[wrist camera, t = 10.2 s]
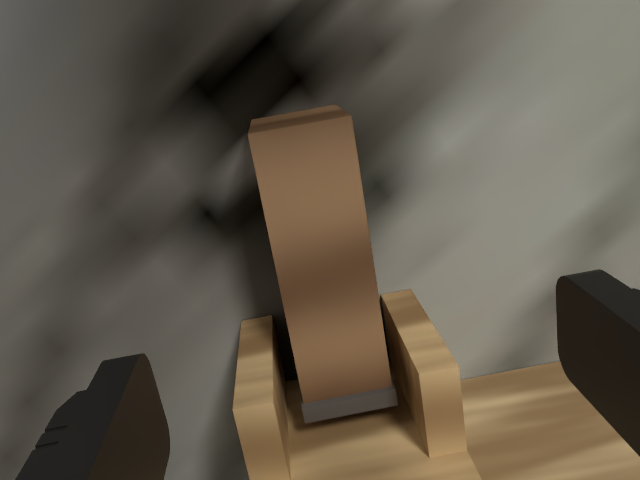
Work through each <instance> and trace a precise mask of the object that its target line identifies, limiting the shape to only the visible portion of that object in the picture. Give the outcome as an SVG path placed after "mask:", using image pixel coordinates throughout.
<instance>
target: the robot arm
mask: <svg viewBox="0 0 640 480" xmlns="http://www.w3.org/2000/svg"><path fill="white" fill-rule="evenodd" d="M556 310H557V339H558V354H559V358H560V362H561V365H562V368H563V370H564V372H565V374H566V376H567V378H568V379H569V380H570V382H571V383H572V384H573V385H574V386H575V387H576V388H577V389H578V390H579V391H580V393H581V394H582V395H583V396H584V397H585V398H586V399H587V400H588V401H589V402H590V403H591V404H592V406H593V407H594V408H595V409H596V410H597V411H598V412H599V413H600V414H601V415H602V416H603V417H604V419H605V420H606V421H607V422H608V423H609V424H610V425H611V426H612V427H613V428H614V429H615V431H616V432H617V433H618V434H619V435H620V436H621V437H622V438H623V439H624V440H625V441H626V442H627V444H628V445H629V446H630V447H631V448H632V449H633V450H634V451H635V452H636V453H637V454H638V455H639V457H640V290H638V289H634V288H633V289H631V288H629V287H628V286H626V285H625V284H623V283H622V282H620V281H619V280H617V279H616V278H614V277H612V276H611V275H609V274H608V273H606V272H605V271H603V270H600V269H599V270H593V271H588V272H582V273H577V274H571V275H566V276H561V277H560V278H559V279H558V281H557V284H556ZM35 447H36V449H35V450H33V451H32V452H31V454H30V456H29V457H28V459H27V461H26V463H25V464H24V466H23V468H22V469H21V471H20V473H19V474H18V476H17V478H16V479H15V480H163V479H164V475H165V471H166V467H167V463H168V459H169V453H170V436H169V429H168V424H167V420H166V416H165V413H164V410H163V406H162V403H161V399H160V396H159V392H158V389H157V386H156V382H155V379H154V375H153V372H152V368H151V365H150V362H149V360H148V358H147V356H146V355H145V354H143V353H142V354H137V355H131V356H126V357H121V358H115V359H110V360H105V361H103V362H102V363H101V364H100V366H99V368H98V370H97V372H96V374H95V375H94V377H93V379H92V381H91V383H90V385H89V387H88V388H87V390H84V391H79V392H76V393H75V394H74V395H73V396H72V397H71V398H70V399H69V400H67V401H66V402H65V403H64V404H63V405H62V406H61V407H60V408H58V409H57V410H56V412H55V413H54V415H53V417H52V419H51V420H50V422H49V424H48V425H47V427H46V429H45V433H43V434H42V435H41V437H40V439H39V441H38V442H37V444H36V446H35Z"/></svg>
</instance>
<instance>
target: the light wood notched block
mask: <svg viewBox="0 0 640 480" xmlns="http://www.w3.org/2000/svg"><path fill="white" fill-rule="evenodd" d="M381 298H382V305H383V312H384V319H385V326H386V333H387V340H388V347H389V354H390V362H389V369H390V375H391V379H392V381H393V384H394V386H395V389H396V394H397V401H398V405H397V406H391V407H386V408H381V409H376V410H371V411H366V412H361V413H356V414H351V415H346V416H341V417H336V418H331V419H326V420H321V421H316V422H311V423H306V424H305V421H304V417H303V412H302V405H301V395H300V385H299V379H296V380H290V381H285V376H284V371H283V367H282V362H281V357H280V352H279V347H278V343H277V338H276V333H275V328H274V323H273V319H272V315H270V316H265V317H259V318H254V319H248V320H243V321H241V330H240V340H239V350H238V360H237V370H236V380H235V389H234V399H233V409H232V410H233V414H234V418H235V422H236V426H237V430H238V434H239V439H240V443H241V447H242V451H243V455H244V459H245V463H246V467H247V471H248V475H249V479H250V480H640V457H639V455H638V454H637V453H636V452H635V451H634V450H633V449H632V448H631V447H630V446H629V445H628V444H627V442H626V441H625V440H624V439H623V438H622V437H621V436H620V435H619V434H618V433H617V432H616V431H615V429H614V428H613V427H612V426H611V425H610V424H609V423H608V422H607V421H606V420H605V419H604V417H603V416H602V415H601V414H600V413H599V412H598V411H597V410H596V409H595V408H594V407H593V406H592V404H591V403H590V402H589V401H588V400H587V399H586V398H585V397H584V396H583V395H582V394H581V393H580V391H579V390H578V389H577V388H576V387H575V386H574V385H573V384H572V383H571V382H570V380H569V379H568V378H567V376H566V374H565V372H564V370H563V368H562V365H561V362H560V361H558V362H553V363H547V364H542V365H537V366H532V367H527V368H521V369H516V370H511V371H506V372H501V373H495V374H490V375H485V376H480V377H475V378H469V379H464V380H460V374H459V366H458V364H457V363H456V361H455V360H454V358H453V356H452V355H451V353H450V352H449V350H448V348H447V347H446V345H445V343H444V342H443V340H442V339H441V337H440V335H439V334H438V332H437V330H436V329H435V327H434V326H433V324H432V322H431V321H430V319H429V318H428V316H427V314H426V313H425V311H424V309H423V308H422V306H421V305H420V303H419V301H418V300H417V298H416V297H415V295H414V293H413V292H412V290H411V289H409V290H404V291H398V292H393V293H388V294H382V295H381Z"/></svg>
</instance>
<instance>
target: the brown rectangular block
mask: <svg viewBox="0 0 640 480" xmlns="http://www.w3.org/2000/svg"><path fill="white" fill-rule="evenodd" d="M248 139H249V143H250V148H251V153H252V158H253V163H254V168H255V172H256V177H257V182H258V187H259V192H260V196H261V201H262V206H263V211H264V216H265V220H266V225H267V230H268V235H269V240H270V245H271V249H272V254H273V259H274V264H275V269H276V273H277V278H278V283H279V288H280V293H281V297H282V302H283V307H284V312H285V317H286V322H287V326H288V331H289V336H290V341H291V346H292V350H293V355H294V360H295V365H296V370H297V374H298V379H299V385H300V395H301V405H302V412H303V417H304V421H305V424H306V423H311V422H316V421H321V420H326V419H331V418H336V417H341V416H346V415H351V414H356V413H361V412H366V411H371V410H376V409H381V408H386V407H391V406H397V405H398V401H397V394H396V389H395V386H394V384H393V381H392V379H391V375H390V369H389V362H388V355H387V349H386V342H385V335H384V329H383V322H382V315H381V309H380V302H379V295H378V289H377V282H376V275H375V269H374V262H373V255H372V249H371V242H370V236H369V229H368V222H367V216H366V209H365V202H364V196H363V189H362V182H361V176H360V169H359V162H358V156H357V149H356V142H355V136H354V129H353V122H352V116H351V115H350V114H349V113H347V112H346V111H344V110H343V109H341V108H340V107H338V106H337V105H336V104H335V105H330V106H324V107H319V108H313V109H308V110H302V111H297V112H291V113H286V114H280V115H275V116H269V117H264V118H258V119H253V120H251V124H250V127H249V131H248Z"/></svg>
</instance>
